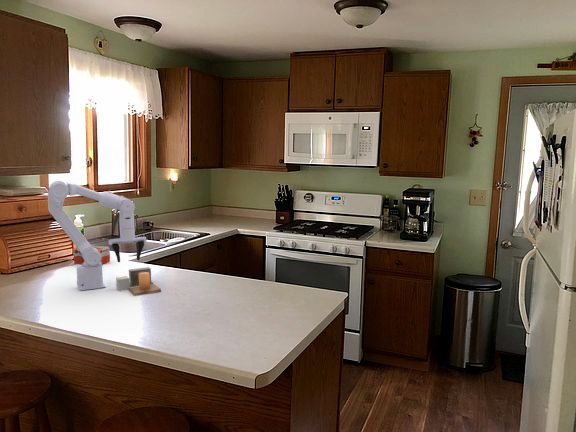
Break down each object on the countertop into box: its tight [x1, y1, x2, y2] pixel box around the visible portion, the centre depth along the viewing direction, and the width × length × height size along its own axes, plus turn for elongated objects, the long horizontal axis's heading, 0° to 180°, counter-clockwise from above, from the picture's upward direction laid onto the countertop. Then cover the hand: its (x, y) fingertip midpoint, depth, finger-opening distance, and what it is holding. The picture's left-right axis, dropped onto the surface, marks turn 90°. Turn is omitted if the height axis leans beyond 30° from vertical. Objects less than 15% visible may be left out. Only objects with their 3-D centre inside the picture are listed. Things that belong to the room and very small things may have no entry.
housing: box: [128, 266, 154, 287], centre depth 193 cm, size 9×4×6 cm, turn 120°
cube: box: [115, 275, 130, 292], centre depth 186 cm, size 4×4×4 cm
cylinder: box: [139, 272, 151, 290], centre depth 183 cm, size 4×4×6 cm
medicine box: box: [73, 245, 111, 265], centre depth 233 cm, size 15×8×8 cm, turn 75°
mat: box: [128, 283, 162, 297], centre depth 183 cm, size 10×9×1 cm
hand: (128, 260), depth 195 cm, fingers open, 7 cm apart
